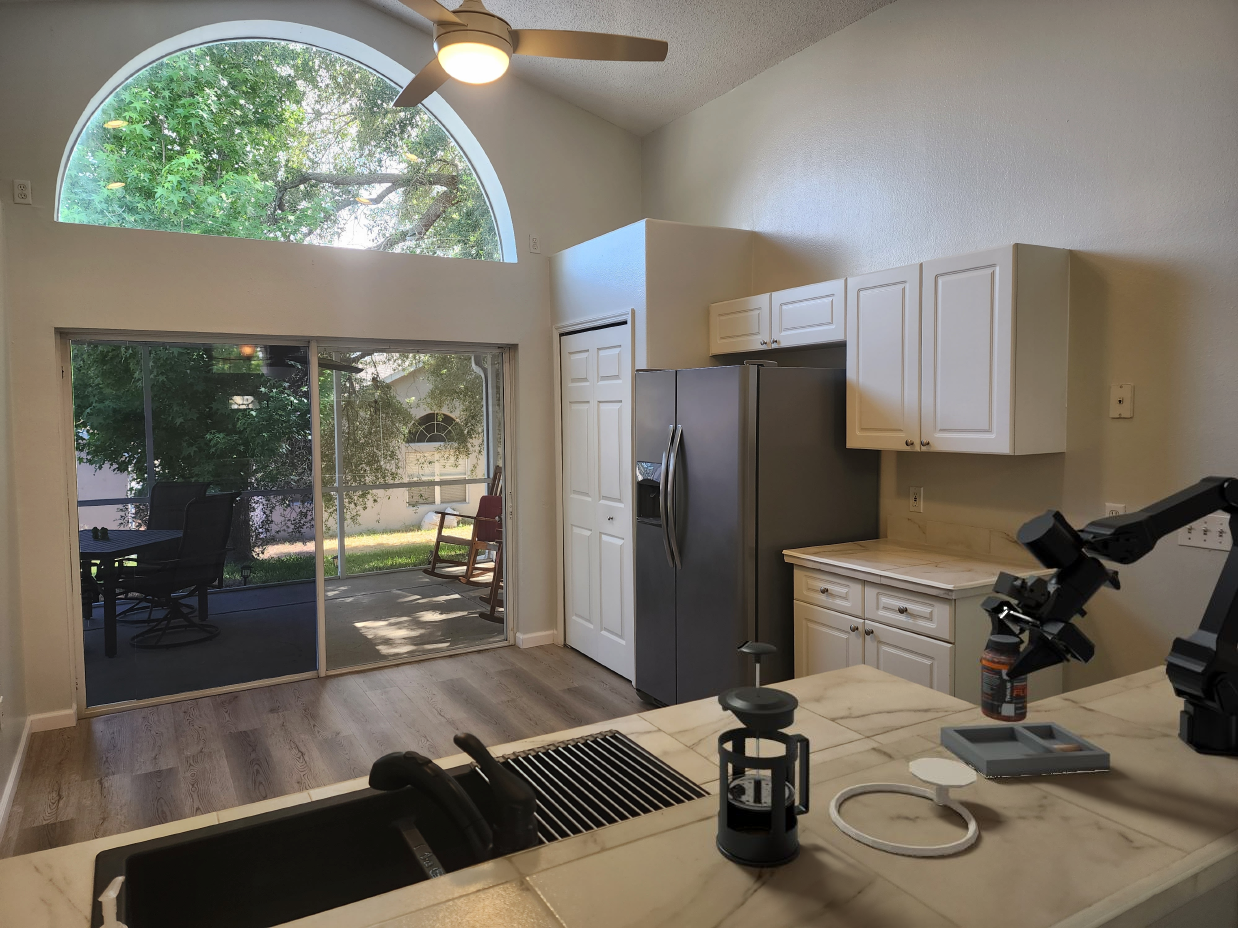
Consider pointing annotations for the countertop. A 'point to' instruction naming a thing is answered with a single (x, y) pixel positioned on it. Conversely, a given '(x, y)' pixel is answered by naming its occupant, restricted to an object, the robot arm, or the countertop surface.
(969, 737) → the divided tray
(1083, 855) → the countertop surface
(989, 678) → the supplement bottle
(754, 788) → the french press
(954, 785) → the hand towel holder
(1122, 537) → the robot arm
